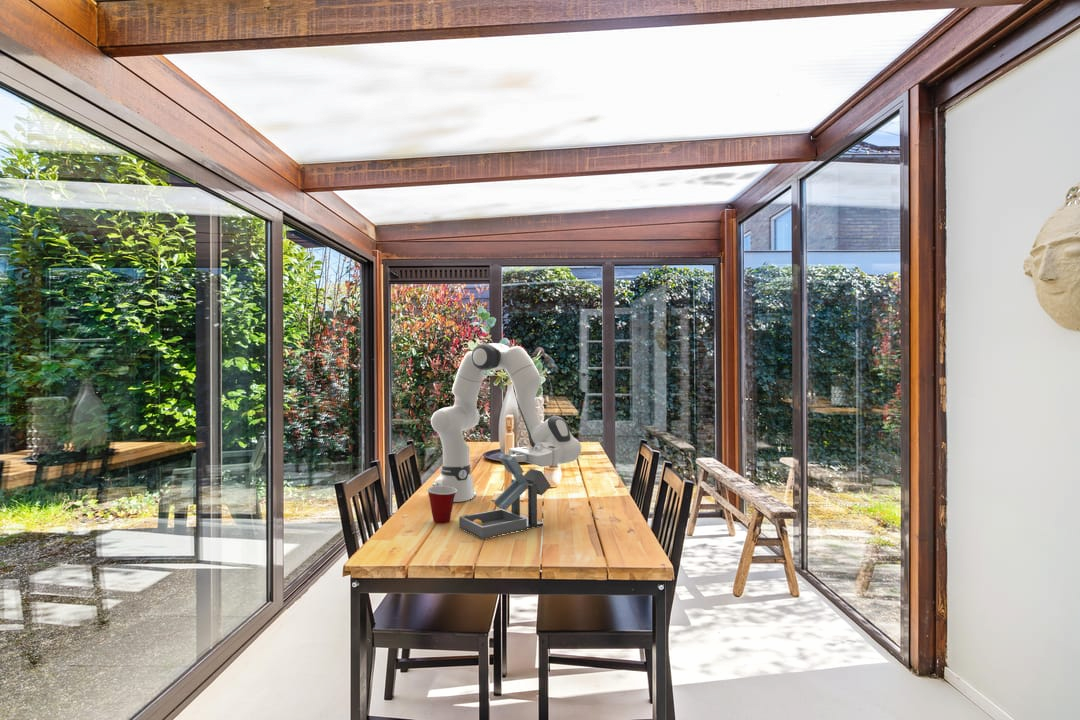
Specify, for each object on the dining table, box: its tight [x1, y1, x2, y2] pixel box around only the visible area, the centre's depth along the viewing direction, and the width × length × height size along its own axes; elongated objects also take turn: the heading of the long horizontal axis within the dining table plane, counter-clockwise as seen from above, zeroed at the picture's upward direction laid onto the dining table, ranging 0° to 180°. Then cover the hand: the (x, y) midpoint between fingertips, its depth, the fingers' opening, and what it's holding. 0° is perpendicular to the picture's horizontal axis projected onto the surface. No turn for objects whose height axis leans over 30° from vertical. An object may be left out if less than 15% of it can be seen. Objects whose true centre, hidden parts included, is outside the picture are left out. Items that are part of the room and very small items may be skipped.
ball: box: [473, 519, 483, 526], centre depth 200 cm, size 4×4×4 cm
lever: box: [492, 453, 552, 511], centre depth 209 cm, size 8×19×20 cm
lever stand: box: [510, 478, 544, 529], centre depth 211 cm, size 14×7×15 cm, turn 35°
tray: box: [458, 508, 528, 540], centre depth 204 cm, size 16×18×4 cm
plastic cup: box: [426, 486, 457, 524], centre depth 214 cm, size 11×11×12 cm
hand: (511, 458), depth 208 cm, fingers closed, pressing on lever
